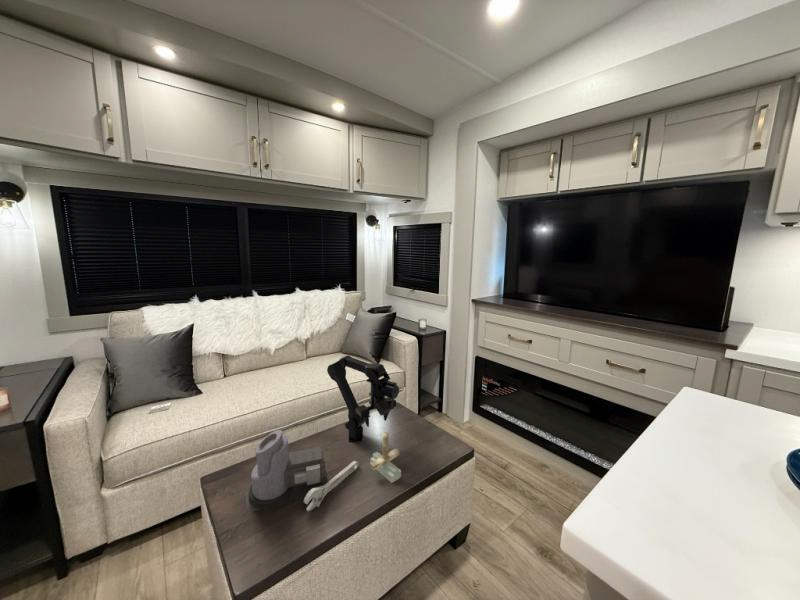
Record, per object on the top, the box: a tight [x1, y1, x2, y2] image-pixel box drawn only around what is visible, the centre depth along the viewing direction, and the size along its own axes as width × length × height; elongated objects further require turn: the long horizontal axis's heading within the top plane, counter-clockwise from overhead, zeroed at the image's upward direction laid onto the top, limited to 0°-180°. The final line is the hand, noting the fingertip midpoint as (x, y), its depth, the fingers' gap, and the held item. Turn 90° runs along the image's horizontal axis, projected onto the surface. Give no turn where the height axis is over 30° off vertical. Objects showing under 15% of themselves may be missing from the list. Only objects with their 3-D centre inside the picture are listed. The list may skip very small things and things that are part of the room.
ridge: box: [369, 451, 402, 484], centre depth 131 cm, size 14×5×4 cm, turn 43°
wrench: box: [303, 460, 359, 512], centre depth 121 cm, size 8×2×30 cm
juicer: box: [245, 429, 329, 512], centre depth 118 cm, size 30×16×24 cm, turn 110°
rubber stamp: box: [369, 432, 401, 471], centre depth 129 cm, size 14×2×12 cm, turn 133°
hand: (376, 423), depth 144 cm, fingers open, 9 cm apart
